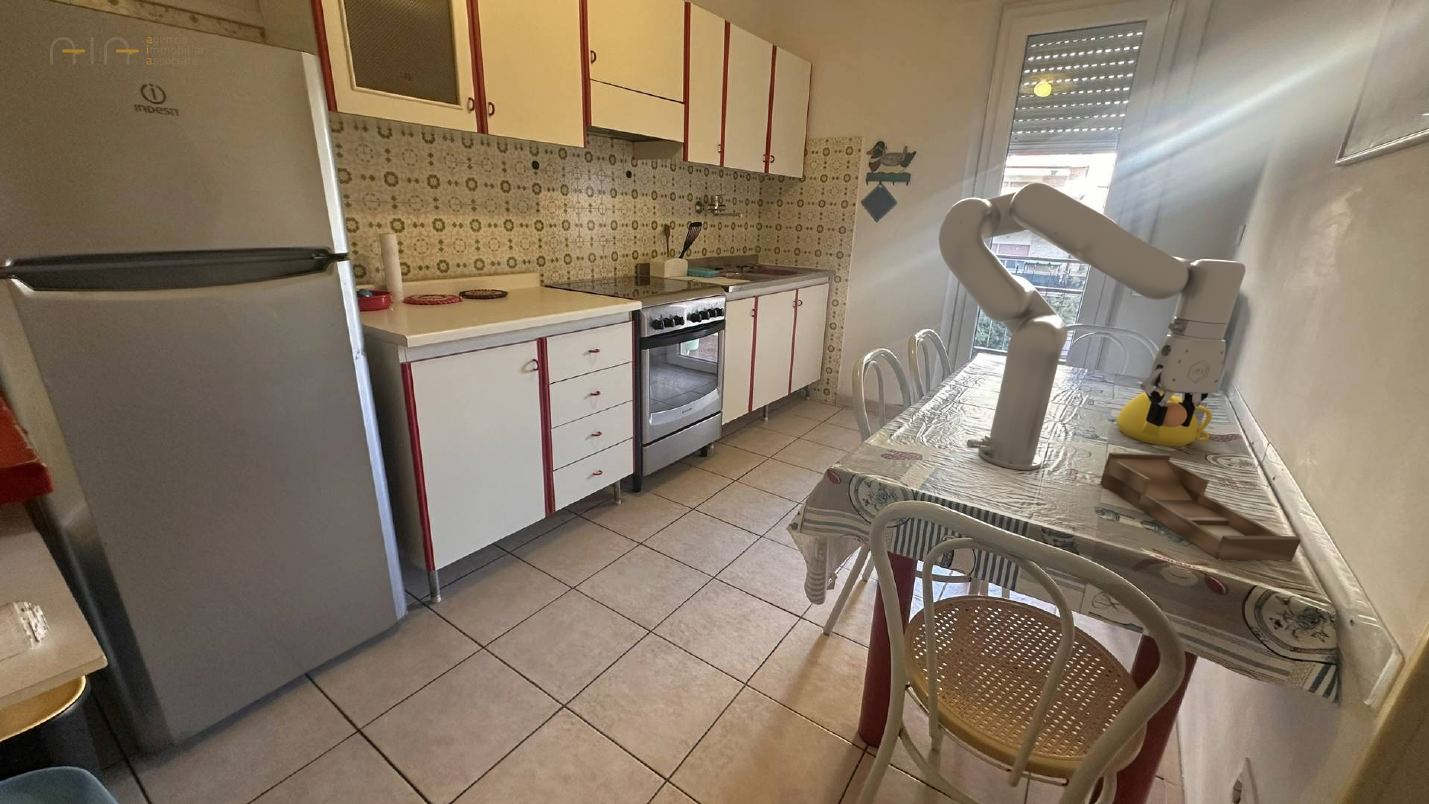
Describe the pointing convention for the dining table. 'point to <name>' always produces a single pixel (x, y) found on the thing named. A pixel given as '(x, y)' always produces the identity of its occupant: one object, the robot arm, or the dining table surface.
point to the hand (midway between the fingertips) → (1167, 423)
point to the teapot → (1140, 429)
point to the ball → (1174, 415)
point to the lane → (1191, 508)
